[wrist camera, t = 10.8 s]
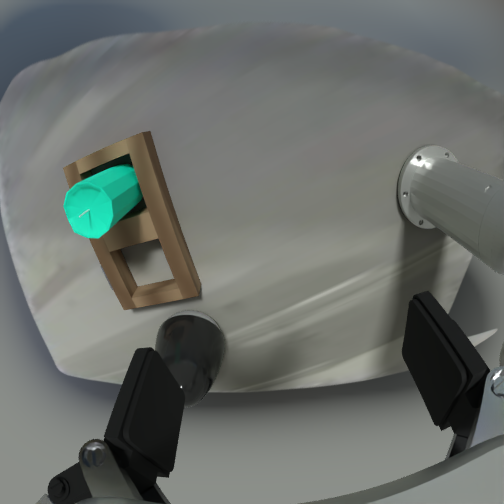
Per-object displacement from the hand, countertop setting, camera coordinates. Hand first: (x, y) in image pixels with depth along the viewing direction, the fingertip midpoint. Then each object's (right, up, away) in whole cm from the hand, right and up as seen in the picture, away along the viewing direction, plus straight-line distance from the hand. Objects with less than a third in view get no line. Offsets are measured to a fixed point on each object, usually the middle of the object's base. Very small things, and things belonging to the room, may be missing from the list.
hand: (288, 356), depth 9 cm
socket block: (-17, +7, +26) cm, 32 cm away
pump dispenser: (-11, -8, +34) cm, 37 cm away
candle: (-18, +12, +24) cm, 32 cm away
